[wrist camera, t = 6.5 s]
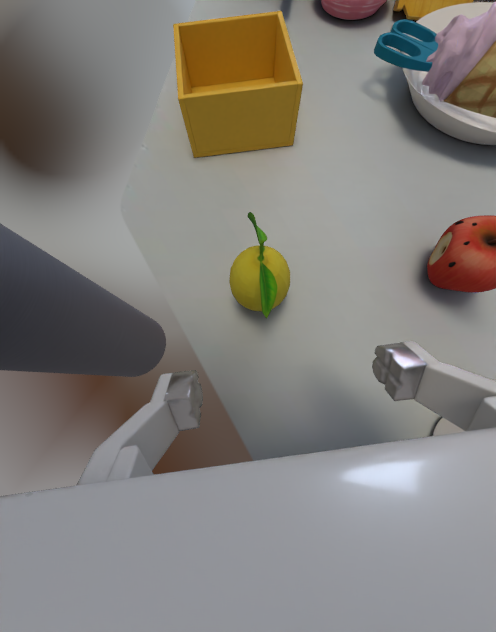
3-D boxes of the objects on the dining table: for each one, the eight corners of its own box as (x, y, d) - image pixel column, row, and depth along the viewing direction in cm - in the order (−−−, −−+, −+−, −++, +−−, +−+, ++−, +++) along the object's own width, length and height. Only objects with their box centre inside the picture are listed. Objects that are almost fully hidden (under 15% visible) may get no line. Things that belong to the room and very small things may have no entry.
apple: (395, 267, 25) (481, 195, 16) (440, 236, 26) (548, 151, 17) (449, 323, 23) (584, 282, 14) (495, 288, 24) (653, 226, 15)
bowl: (605, 83, 32) (647, 46, 28) (535, 200, 27) (576, 173, 23) (435, 20, 37) (454, -18, 33) (350, 109, 32) (361, 76, 28)
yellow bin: (194, 158, 30) (178, 98, 24) (188, 90, 34) (173, 23, 28) (293, 145, 31) (303, 83, 24) (276, 79, 34) (281, 10, 28)
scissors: (401, 16, 30) (558, 84, 26) (397, 27, 31) (547, 94, 27) (372, 42, 29) (532, 117, 25) (368, 53, 29) (522, 127, 26)
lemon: (249, 258, 26) (246, 185, 16) (296, 281, 25) (322, 218, 16) (218, 307, 25) (195, 258, 15) (267, 333, 24) (275, 300, 14)
